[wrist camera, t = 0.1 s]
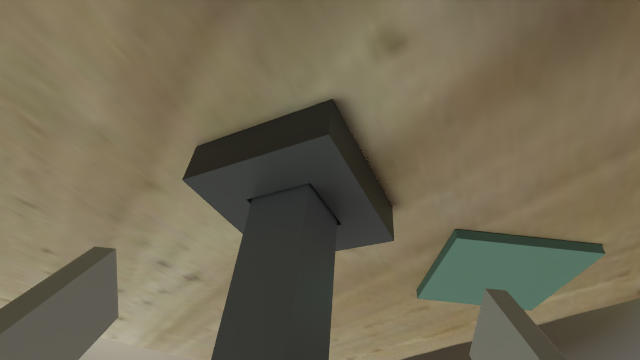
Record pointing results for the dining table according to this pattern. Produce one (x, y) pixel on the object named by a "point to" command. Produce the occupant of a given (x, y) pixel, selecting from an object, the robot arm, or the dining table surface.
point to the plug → (281, 281)
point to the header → (295, 173)
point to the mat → (504, 267)
